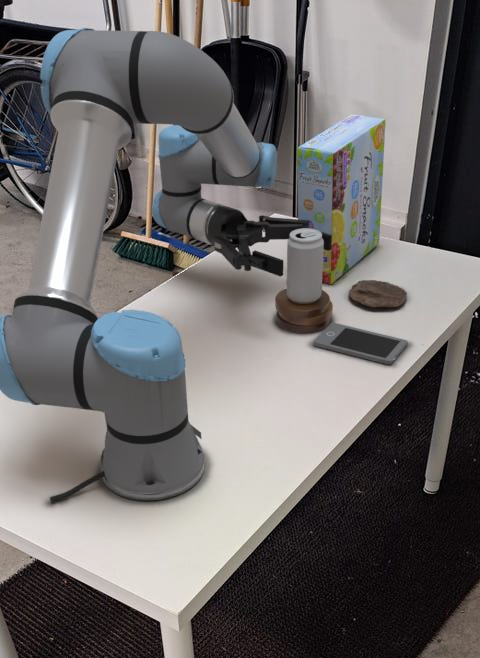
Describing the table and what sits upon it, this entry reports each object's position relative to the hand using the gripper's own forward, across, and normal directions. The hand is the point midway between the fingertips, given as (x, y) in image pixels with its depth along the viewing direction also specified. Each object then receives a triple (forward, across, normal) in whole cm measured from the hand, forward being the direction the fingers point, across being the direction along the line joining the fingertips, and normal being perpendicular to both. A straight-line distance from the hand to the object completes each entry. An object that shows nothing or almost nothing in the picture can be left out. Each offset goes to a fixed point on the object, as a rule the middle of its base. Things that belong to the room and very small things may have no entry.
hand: (306, 255), depth 151 cm
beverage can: (0, 0, -8) cm, 8 cm away
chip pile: (0, 0, -13) cm, 13 cm away
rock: (+5, -16, -13) cm, 21 cm away
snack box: (-11, -25, -13) cm, 30 cm away
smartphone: (+13, +1, -13) cm, 18 cm away
